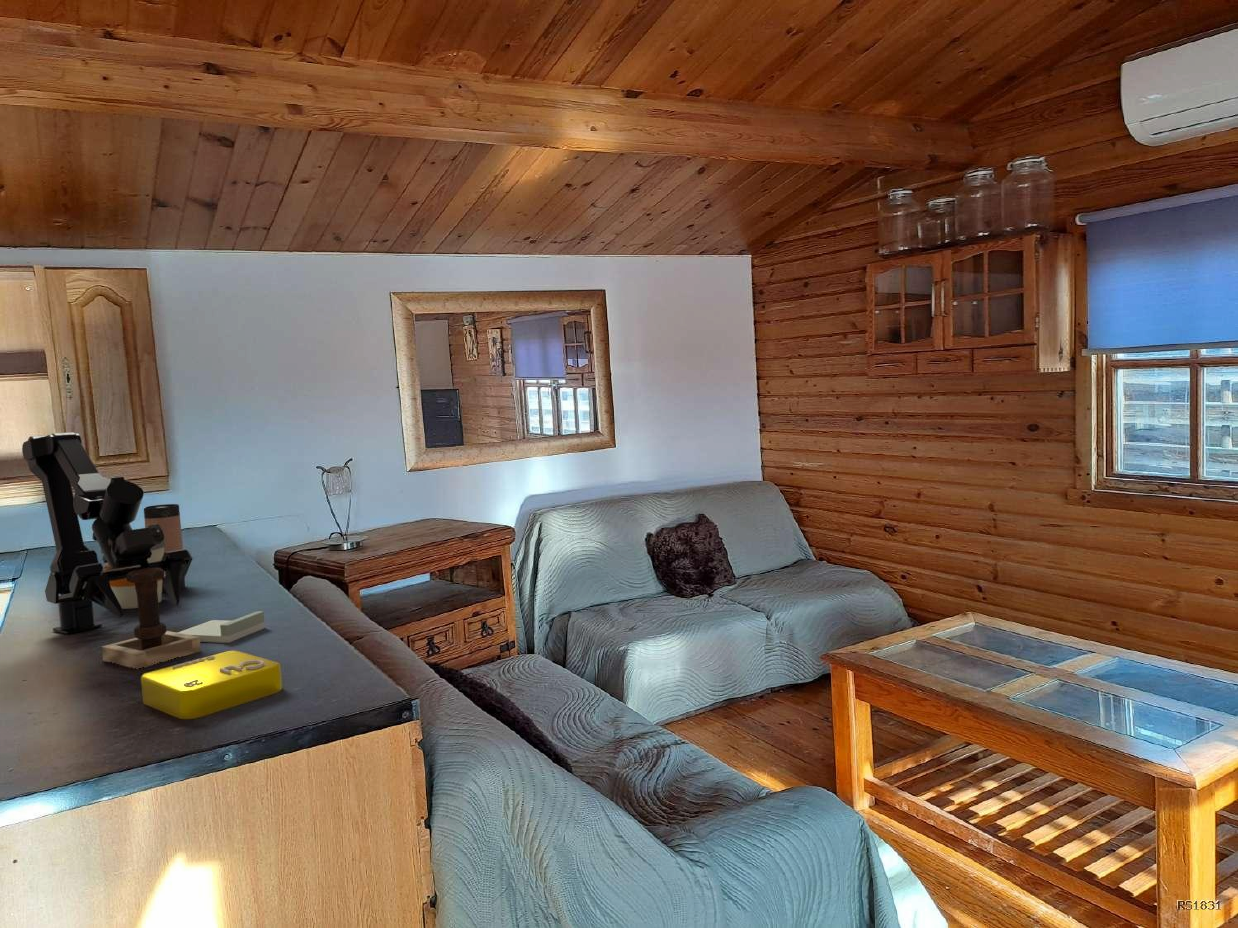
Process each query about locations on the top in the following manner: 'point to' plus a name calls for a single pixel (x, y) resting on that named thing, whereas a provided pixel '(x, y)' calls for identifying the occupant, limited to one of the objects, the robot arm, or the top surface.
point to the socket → (151, 650)
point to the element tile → (210, 684)
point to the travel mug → (167, 527)
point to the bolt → (148, 606)
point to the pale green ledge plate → (227, 628)
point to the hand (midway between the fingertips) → (150, 609)
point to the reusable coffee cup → (127, 589)
